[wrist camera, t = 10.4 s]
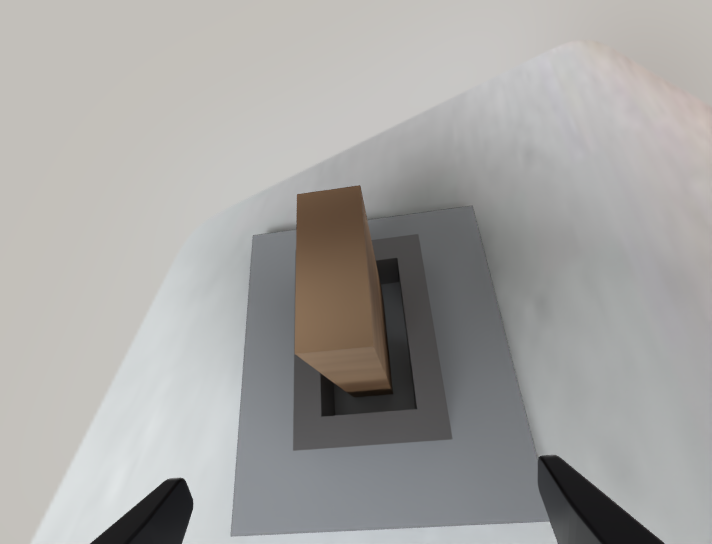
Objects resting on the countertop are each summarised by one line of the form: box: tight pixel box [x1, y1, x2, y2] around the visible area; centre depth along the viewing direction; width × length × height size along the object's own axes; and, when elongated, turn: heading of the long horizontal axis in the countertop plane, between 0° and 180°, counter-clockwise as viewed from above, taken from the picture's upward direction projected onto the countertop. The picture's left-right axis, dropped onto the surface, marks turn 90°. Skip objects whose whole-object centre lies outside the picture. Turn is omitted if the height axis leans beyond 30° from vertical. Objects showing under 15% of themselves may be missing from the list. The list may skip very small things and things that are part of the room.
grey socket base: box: [231, 206, 550, 537], centre depth 18 cm, size 16×14×4 cm
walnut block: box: [295, 185, 393, 397], centre depth 14 cm, size 5×2×10 cm, turn 3°
